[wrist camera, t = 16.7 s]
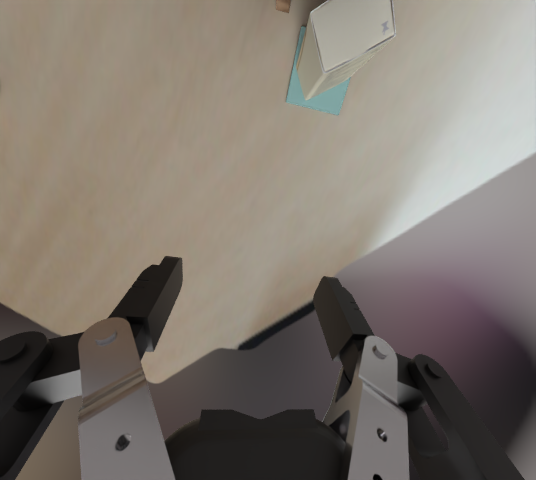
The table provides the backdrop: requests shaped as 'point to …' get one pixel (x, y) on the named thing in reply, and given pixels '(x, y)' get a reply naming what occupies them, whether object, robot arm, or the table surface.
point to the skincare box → (342, 41)
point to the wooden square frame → (283, 5)
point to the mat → (322, 102)
